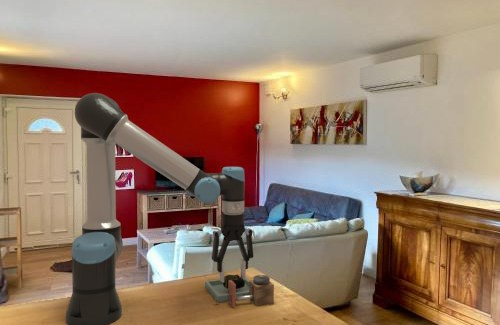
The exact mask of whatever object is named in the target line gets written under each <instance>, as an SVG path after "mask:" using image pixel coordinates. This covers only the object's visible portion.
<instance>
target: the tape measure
mask: <svg viewBox="0 0 500 325" xmlns="http://www.w3.org/2000/svg"><path fill="white" fill-rule="evenodd" d="M228 280H232V281H233V282H234V283H235V284H236V289H238V288H242V287H244V286H245V281H244V280H243V279H242V278H241V275H239V274H228V275H224V283H223V286H224V287H225V288H227V289H228Z"/></svg>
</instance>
